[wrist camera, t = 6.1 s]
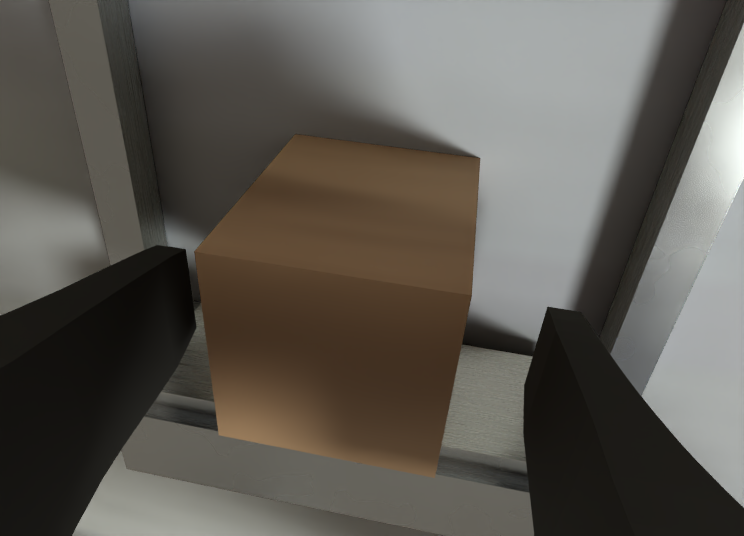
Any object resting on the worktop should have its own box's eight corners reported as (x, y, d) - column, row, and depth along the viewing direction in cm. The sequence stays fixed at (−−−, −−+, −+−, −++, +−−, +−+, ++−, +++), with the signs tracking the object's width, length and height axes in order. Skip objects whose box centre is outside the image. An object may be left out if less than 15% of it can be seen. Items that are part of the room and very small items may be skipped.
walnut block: (452, 308, 14) (434, 477, 10) (297, 283, 14) (218, 435, 10) (479, 157, 12) (471, 295, 8) (295, 133, 12) (194, 251, 8)
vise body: (605, 428, 15) (635, 575, 12) (152, 346, 17) (68, 456, 13) (1101, -703, 6) (1940, -1541, 2) (-51, -654, 7) (-513, -1123, 4)
